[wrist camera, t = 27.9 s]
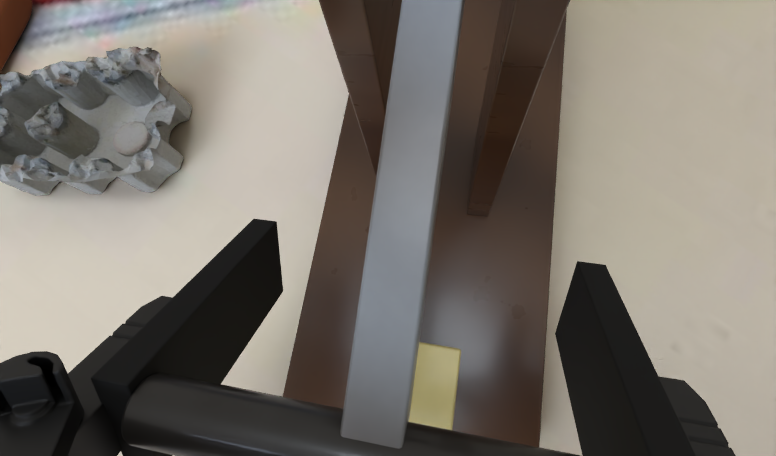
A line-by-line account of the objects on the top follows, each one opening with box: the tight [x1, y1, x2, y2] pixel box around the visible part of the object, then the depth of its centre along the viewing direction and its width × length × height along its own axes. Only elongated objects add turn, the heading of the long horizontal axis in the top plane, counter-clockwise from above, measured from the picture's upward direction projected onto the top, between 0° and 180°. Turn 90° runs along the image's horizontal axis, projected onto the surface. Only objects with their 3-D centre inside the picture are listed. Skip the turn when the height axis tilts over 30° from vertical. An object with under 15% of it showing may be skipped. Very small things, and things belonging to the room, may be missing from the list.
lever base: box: [283, 0, 570, 447], centre depth 15 cm, size 24×11×17 cm, turn 170°
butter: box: [409, 342, 461, 430], centre depth 16 cm, size 4×4×4 cm
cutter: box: [121, 0, 580, 456], centre depth 8 cm, size 13×9×2 cm
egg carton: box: [0, 47, 192, 196], centre depth 24 cm, size 11×8×4 cm
